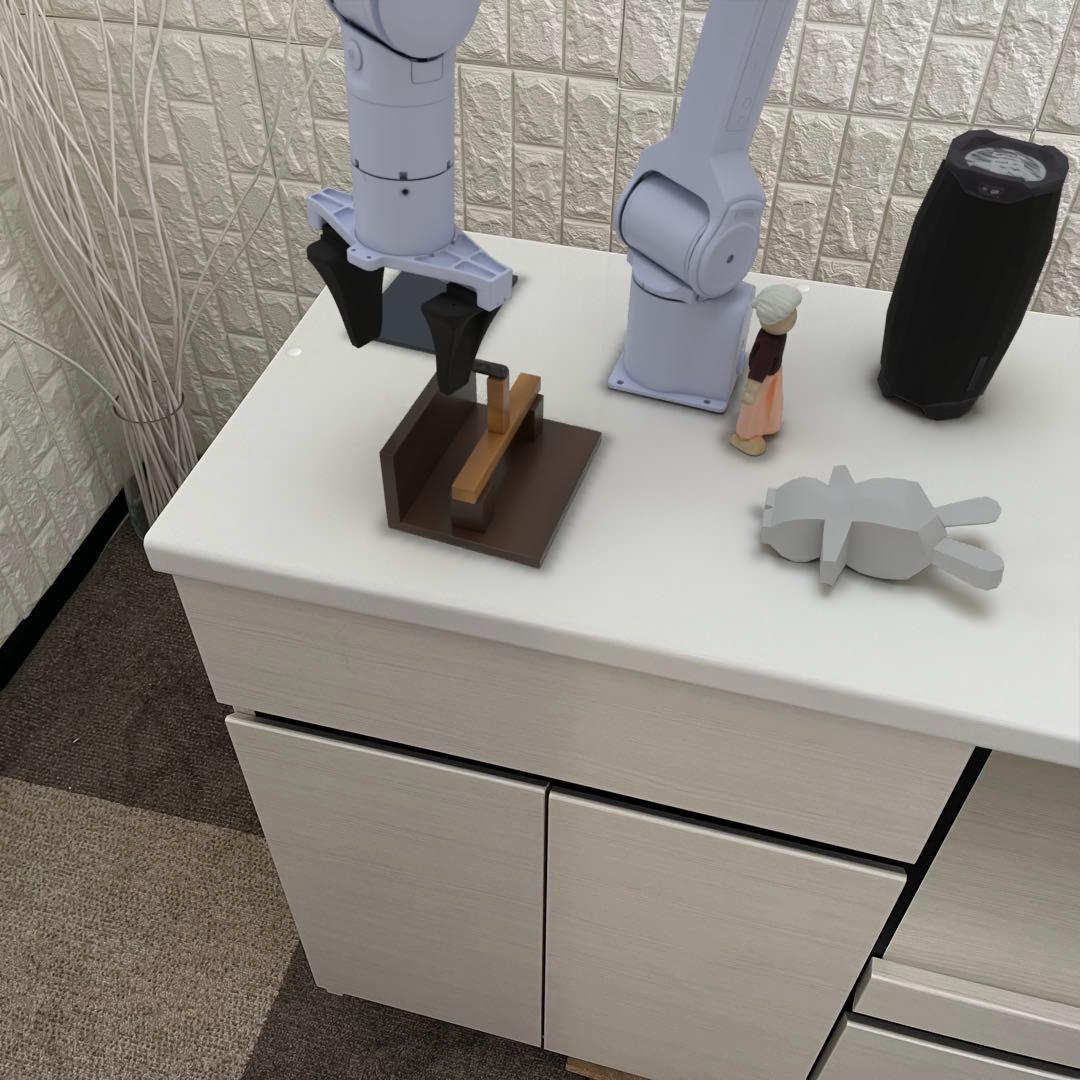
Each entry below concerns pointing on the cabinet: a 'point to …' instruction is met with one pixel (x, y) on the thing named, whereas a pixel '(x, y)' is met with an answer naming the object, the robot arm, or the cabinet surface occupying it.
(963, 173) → the portable speaker
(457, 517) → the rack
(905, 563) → the bunny figurine
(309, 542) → the cabinet surface
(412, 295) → the pad
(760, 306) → the grandmother figurine
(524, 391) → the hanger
